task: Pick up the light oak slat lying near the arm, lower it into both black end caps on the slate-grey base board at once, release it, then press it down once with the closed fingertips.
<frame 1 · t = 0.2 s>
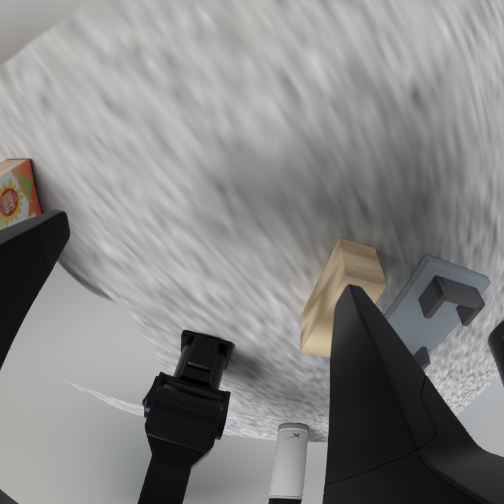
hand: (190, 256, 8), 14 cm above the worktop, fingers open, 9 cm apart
slat: (335, 283, 26), on the worktop
travel mug: (293, 426, 50), on the worktop
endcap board: (420, 319, 27), on the worktop
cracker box: (30, 209, 27), on the worktop
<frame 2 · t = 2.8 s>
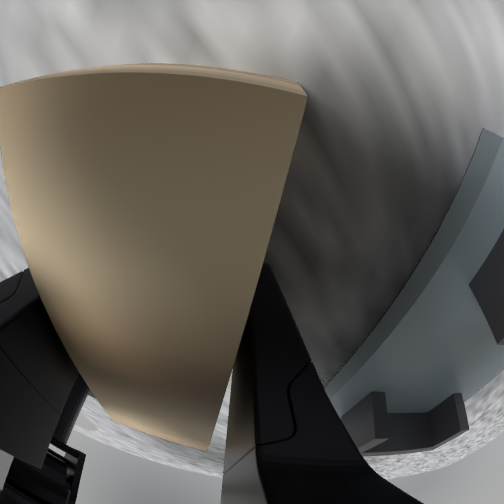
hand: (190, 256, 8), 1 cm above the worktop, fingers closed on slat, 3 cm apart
slat: (201, 235, 9), on the worktop, touching gripper
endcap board: (460, 338, 10), on the worktop
when the fingers open (3 cm above the worktop, at t = 6.7 s): slat drops 1 cm, resting on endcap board.
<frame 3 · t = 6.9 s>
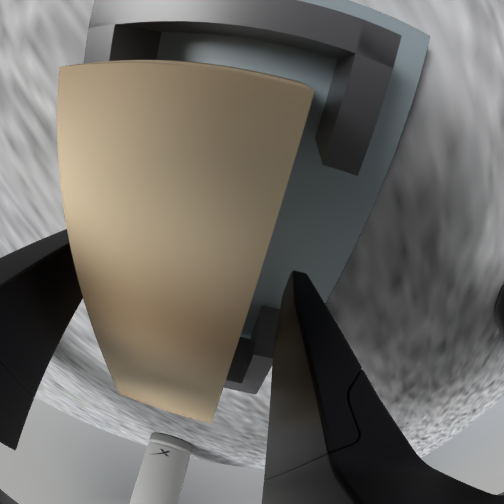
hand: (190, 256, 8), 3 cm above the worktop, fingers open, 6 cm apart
slat: (211, 217, 10), point 1 cm above the worktop, touching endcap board
travel mug: (171, 438, 33), on the worktop
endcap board: (218, 205, 10), on the worktop
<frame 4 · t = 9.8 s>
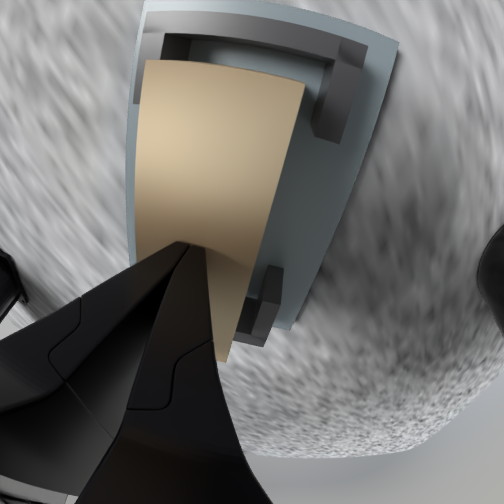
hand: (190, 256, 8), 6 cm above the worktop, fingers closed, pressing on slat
slat: (228, 186, 12), point 1 cm above the worktop, touching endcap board, gripper
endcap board: (233, 178, 13), on the worktop
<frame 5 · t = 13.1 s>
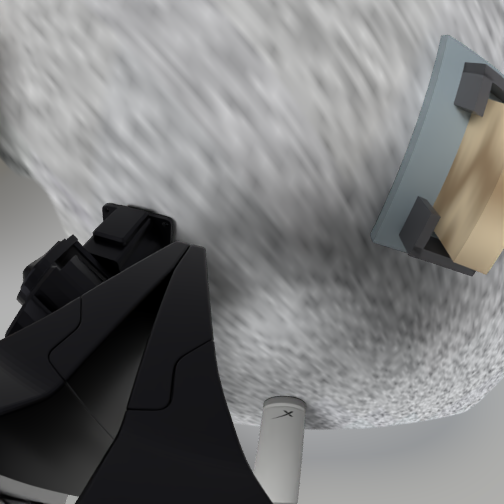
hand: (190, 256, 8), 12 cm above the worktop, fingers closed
slat: (471, 168, 14), point 1 cm above the worktop, touching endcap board
travel mug: (284, 402, 38), on the worktop
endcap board: (464, 164, 15), on the worktop
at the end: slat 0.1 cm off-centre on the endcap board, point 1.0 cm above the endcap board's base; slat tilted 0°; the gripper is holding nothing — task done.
